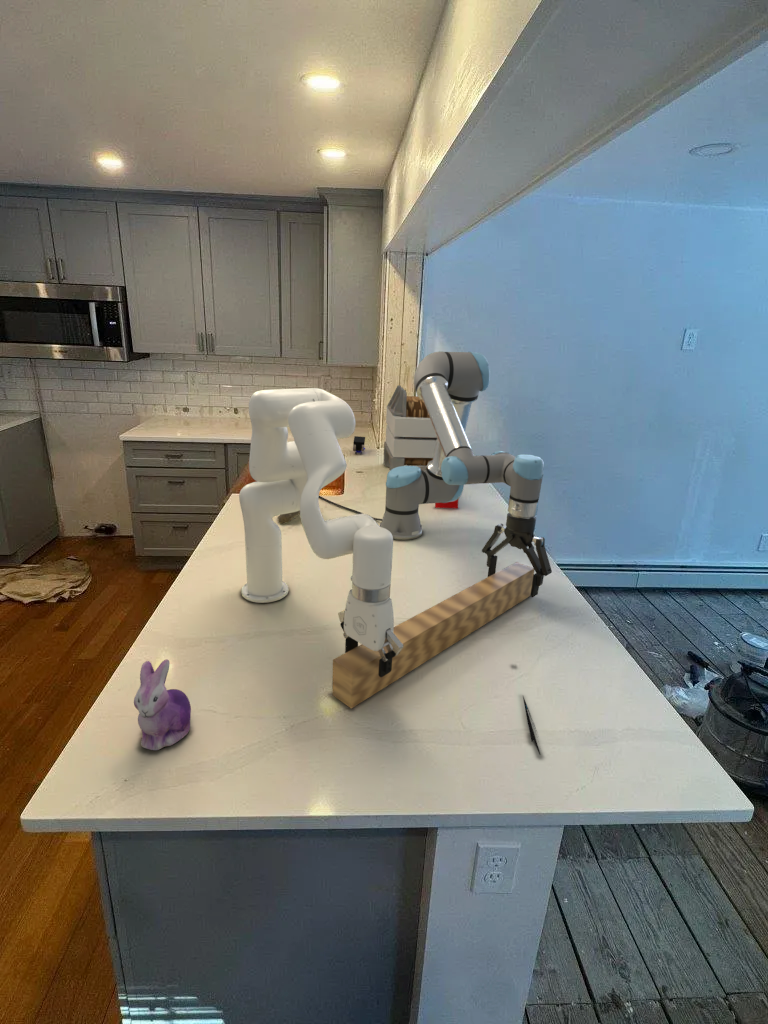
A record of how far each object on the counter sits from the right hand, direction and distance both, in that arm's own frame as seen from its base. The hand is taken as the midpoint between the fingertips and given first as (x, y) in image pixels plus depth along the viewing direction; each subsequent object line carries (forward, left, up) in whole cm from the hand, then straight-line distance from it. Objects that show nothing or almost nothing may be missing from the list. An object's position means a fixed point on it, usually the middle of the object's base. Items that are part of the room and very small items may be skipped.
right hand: (511, 586), depth 156 cm
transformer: (-107, +68, -4) cm, 127 cm away
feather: (+30, -35, -4) cm, 46 cm away
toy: (-74, +49, -4) cm, 89 cm away
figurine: (-6, -94, -4) cm, 94 cm away
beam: (+3, -28, -4) cm, 29 cm away
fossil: (-90, -13, -4) cm, 91 cm away
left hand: (+6, -56, +2) cm, 56 cm away
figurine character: (-155, +68, -4) cm, 169 cm away
